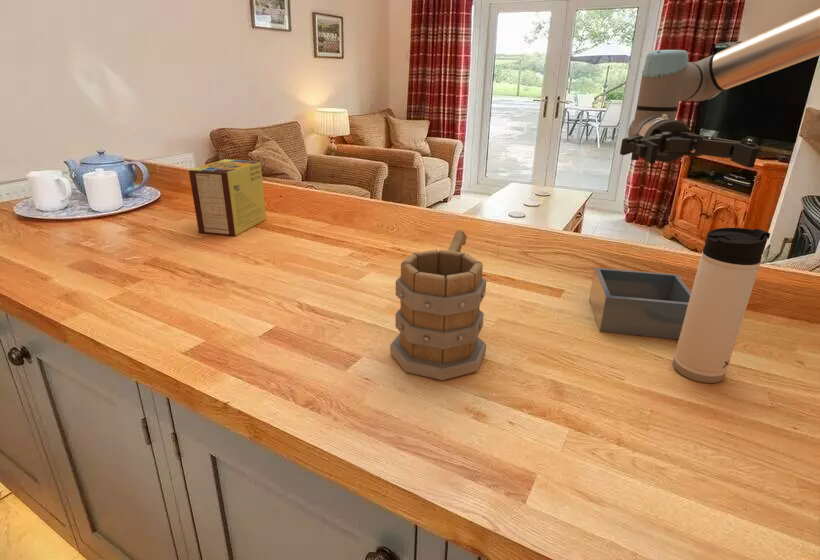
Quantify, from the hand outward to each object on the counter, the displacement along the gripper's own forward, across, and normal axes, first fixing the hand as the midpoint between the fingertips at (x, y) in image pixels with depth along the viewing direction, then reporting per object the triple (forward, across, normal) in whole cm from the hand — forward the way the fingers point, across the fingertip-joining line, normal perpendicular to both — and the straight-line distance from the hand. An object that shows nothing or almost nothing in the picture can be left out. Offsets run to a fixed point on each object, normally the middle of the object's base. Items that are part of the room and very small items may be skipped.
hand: (703, 156), depth 73 cm
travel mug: (+18, 0, +26) cm, 32 cm away
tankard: (+18, -35, +26) cm, 47 cm away
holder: (+3, -5, +26) cm, 27 cm away
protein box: (-28, -96, +26) cm, 104 cm away
